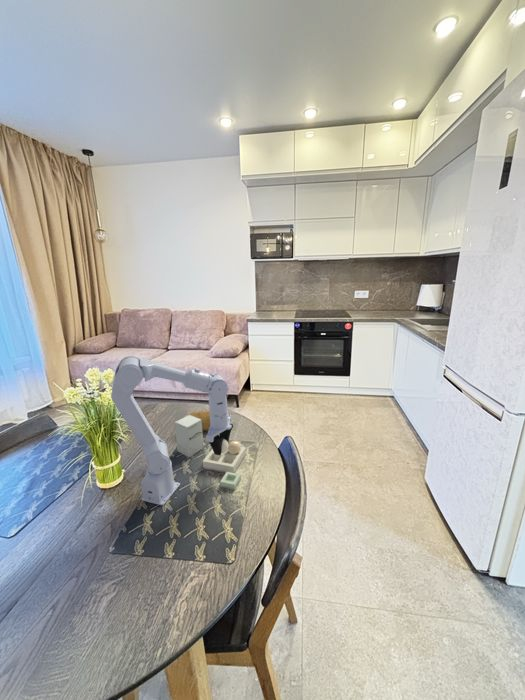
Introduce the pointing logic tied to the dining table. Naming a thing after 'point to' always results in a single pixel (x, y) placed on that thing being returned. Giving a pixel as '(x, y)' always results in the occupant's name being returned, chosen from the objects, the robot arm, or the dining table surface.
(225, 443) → the cream egg
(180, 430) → the supplement box
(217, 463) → the carton
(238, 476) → the mint square frame
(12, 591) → the dining table surface
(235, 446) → the brown egg
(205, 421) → the potato
